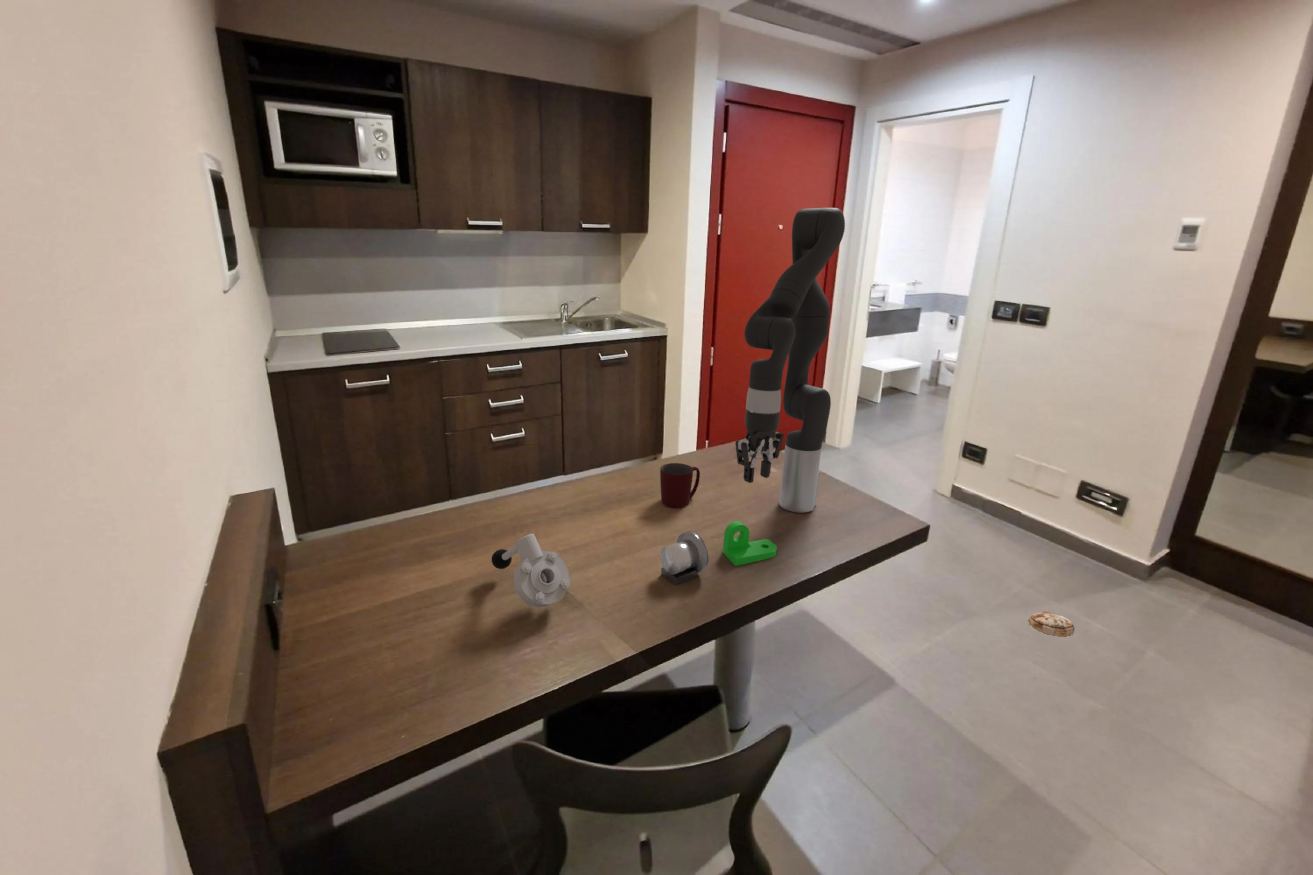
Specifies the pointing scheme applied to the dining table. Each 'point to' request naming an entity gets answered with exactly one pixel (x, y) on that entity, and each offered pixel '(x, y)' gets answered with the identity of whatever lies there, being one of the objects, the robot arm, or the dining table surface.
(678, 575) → the grey mushroom knob
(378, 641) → the dining table surface
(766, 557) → the mechanical part
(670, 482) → the mug
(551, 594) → the mechanical valve
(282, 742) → the dining table surface
